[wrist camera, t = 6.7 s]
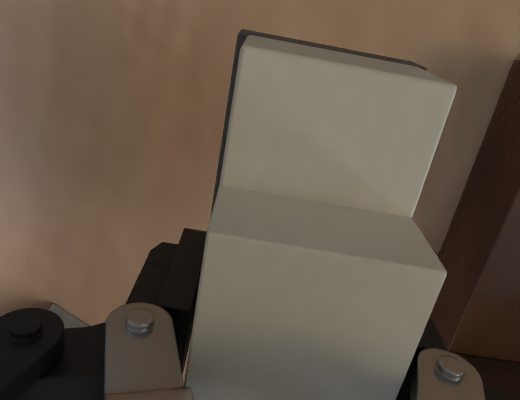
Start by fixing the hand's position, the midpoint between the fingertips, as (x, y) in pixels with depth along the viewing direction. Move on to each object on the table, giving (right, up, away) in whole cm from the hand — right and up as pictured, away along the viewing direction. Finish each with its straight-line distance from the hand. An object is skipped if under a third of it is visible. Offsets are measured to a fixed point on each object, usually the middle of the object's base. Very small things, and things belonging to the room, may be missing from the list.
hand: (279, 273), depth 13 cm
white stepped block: (0, +2, 0) cm, 1 cm away
